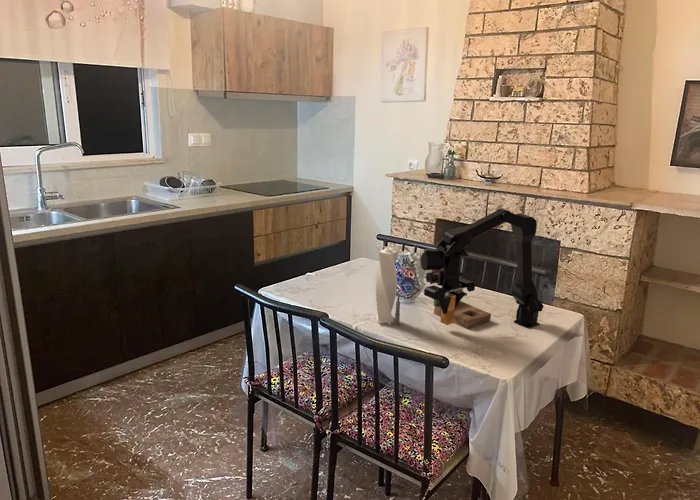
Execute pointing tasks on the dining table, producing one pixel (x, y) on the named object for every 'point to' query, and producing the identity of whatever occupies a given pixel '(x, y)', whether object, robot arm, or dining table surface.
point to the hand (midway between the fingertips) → (447, 312)
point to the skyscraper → (387, 287)
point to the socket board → (465, 314)
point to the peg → (449, 311)
